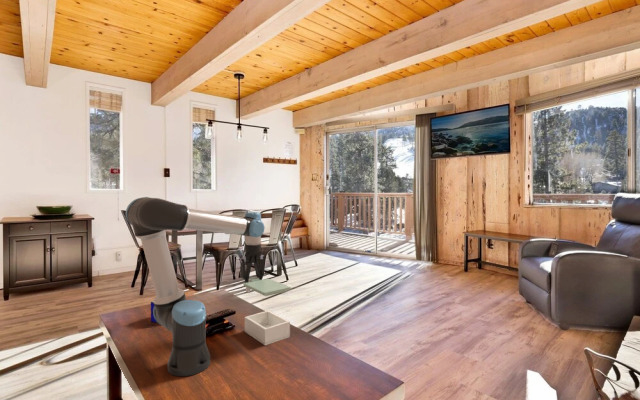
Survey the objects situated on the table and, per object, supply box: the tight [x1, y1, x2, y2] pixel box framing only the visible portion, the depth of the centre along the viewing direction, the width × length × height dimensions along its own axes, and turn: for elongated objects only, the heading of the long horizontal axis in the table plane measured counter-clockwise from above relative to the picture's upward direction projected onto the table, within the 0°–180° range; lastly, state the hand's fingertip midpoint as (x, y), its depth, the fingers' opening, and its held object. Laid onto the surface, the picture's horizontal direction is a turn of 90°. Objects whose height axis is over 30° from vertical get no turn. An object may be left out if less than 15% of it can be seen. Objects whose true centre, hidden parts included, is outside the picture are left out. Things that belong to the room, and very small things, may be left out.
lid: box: [242, 276, 292, 297], centre depth 155 cm, size 25×14×2 cm, turn 41°
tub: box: [244, 310, 291, 346], centre depth 154 cm, size 18×13×7 cm
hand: (252, 291), depth 163 cm, fingers closed on lid, 4 cm apart
